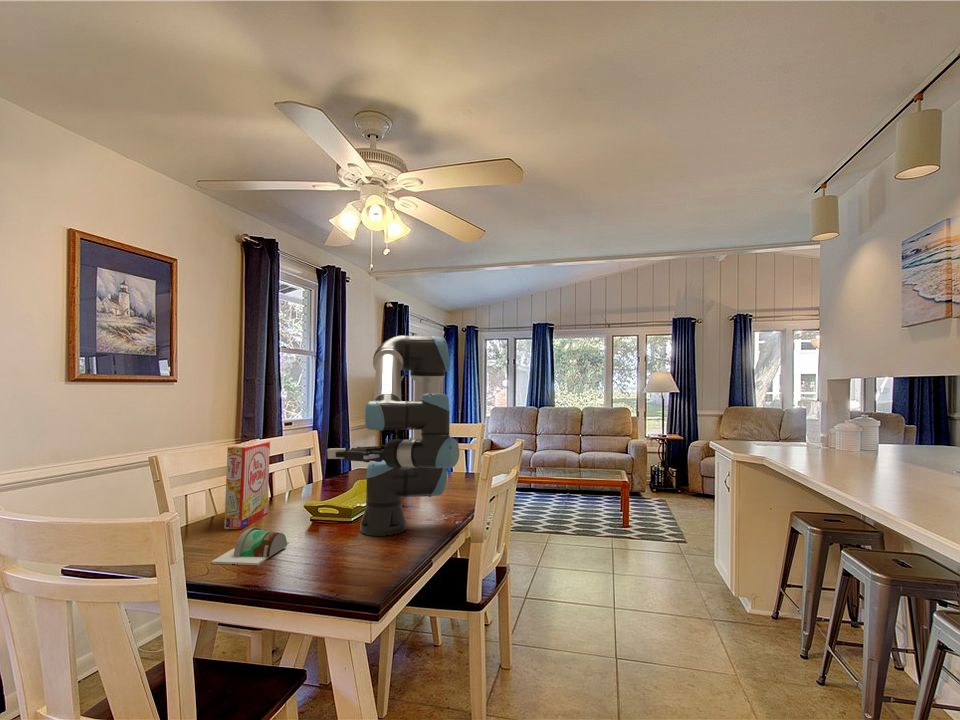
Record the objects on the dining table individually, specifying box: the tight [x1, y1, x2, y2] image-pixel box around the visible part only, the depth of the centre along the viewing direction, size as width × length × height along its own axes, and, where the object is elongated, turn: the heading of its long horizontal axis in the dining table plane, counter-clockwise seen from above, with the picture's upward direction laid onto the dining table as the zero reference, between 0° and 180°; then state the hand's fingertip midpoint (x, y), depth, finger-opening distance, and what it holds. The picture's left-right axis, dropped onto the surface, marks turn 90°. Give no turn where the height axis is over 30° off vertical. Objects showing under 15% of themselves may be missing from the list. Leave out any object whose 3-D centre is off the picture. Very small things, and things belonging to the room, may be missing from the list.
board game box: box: [223, 440, 271, 530], centre depth 175 cm, size 20×6×27 cm, turn 0°
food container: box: [234, 526, 288, 558], centre depth 143 cm, size 12×6×10 cm
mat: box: [210, 541, 290, 566], centre depth 142 cm, size 13×18×1 cm
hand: (329, 453), depth 142 cm, fingers closed
